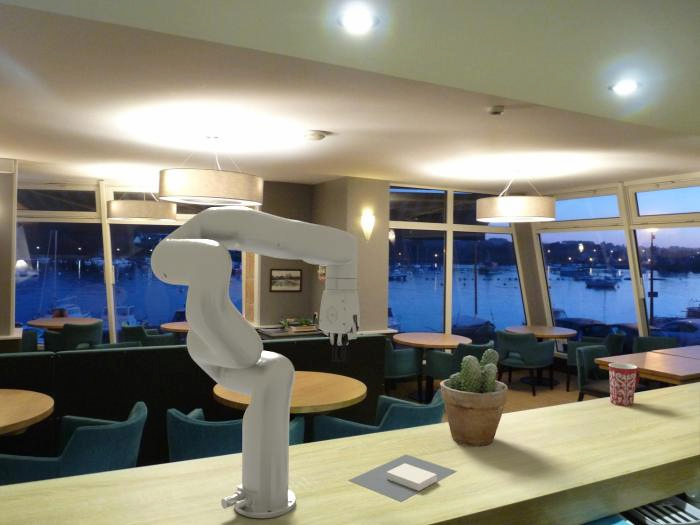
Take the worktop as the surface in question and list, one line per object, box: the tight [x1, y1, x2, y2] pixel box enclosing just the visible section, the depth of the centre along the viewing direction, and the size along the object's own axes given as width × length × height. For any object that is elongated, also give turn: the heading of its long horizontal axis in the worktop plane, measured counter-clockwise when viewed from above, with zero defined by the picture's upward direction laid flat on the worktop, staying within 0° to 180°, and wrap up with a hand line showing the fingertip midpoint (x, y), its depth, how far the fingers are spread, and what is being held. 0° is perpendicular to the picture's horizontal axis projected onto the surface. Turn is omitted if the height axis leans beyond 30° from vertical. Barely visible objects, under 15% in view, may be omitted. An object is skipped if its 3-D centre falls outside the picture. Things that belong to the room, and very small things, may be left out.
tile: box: [386, 463, 437, 492], centre depth 124 cm, size 7×2×9 cm
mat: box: [348, 454, 457, 503], centre depth 127 cm, size 22×15×1 cm
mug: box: [608, 362, 640, 407], centre depth 193 cm, size 13×9×14 cm
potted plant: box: [439, 348, 509, 447], centre depth 153 cm, size 18×19×25 cm
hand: (339, 360), depth 132 cm, fingers closed
